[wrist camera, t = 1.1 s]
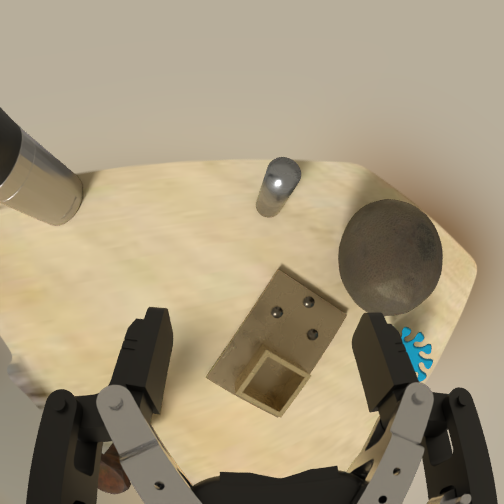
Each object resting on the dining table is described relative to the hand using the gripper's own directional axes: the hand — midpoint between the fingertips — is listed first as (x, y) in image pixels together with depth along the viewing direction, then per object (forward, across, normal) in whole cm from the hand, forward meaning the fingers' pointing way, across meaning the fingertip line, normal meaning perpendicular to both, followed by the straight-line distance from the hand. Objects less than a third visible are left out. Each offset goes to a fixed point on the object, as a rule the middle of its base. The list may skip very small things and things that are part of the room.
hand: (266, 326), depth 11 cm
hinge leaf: (+16, -5, +24) cm, 29 cm away
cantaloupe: (+25, -17, +15) cm, 34 cm away
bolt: (+6, +16, +34) cm, 38 cm away
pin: (+30, -3, +9) cm, 31 cm away
